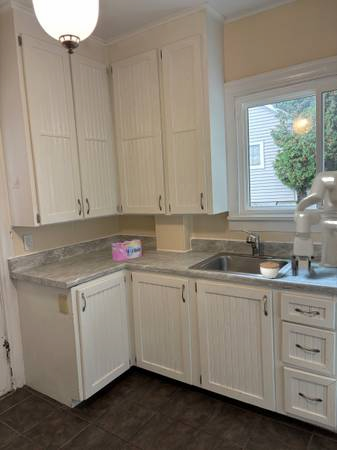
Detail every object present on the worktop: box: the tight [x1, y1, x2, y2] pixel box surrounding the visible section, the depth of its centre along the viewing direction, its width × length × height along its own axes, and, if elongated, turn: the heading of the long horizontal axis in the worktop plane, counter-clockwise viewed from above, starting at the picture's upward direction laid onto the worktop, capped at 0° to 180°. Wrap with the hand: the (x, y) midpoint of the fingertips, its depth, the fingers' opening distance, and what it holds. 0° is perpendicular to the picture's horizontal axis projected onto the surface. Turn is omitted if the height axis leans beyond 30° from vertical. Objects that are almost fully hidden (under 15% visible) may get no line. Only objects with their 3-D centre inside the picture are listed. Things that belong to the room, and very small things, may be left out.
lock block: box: [297, 258, 308, 271], centre depth 185 cm, size 7×5×5 cm
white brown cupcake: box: [259, 261, 280, 279], centre depth 192 cm, size 11×11×9 cm
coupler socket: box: [290, 254, 314, 278], centre depth 200 cm, size 18×11×9 cm, turn 162°
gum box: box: [111, 238, 143, 262], centre depth 260 cm, size 24×8×14 cm, turn 129°
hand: (303, 267), depth 185 cm, fingers closed on lock block, 5 cm apart
